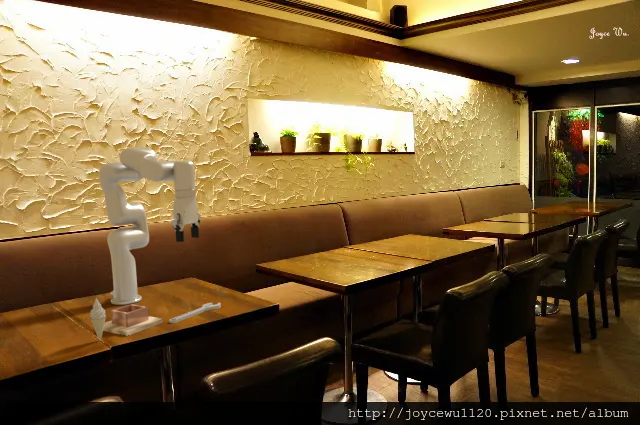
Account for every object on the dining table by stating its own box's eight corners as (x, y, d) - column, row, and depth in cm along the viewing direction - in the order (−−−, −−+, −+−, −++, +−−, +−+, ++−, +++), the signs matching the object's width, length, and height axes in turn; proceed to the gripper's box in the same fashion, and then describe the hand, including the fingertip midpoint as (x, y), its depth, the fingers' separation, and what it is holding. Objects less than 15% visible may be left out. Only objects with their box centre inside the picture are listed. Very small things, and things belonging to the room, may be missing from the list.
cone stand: (97, 329, 185) (96, 311, 184) (133, 316, 198) (132, 300, 198) (126, 336, 177) (125, 317, 176) (162, 322, 190) (161, 305, 190)
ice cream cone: (94, 338, 176) (91, 295, 174) (110, 337, 176) (106, 295, 174) (89, 343, 171) (86, 299, 169) (105, 342, 171) (101, 299, 169)
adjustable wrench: (172, 325, 189) (172, 320, 189) (162, 322, 193) (161, 317, 192) (223, 307, 209) (223, 303, 208) (212, 305, 213) (212, 301, 212)
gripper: (190, 192, 200) (192, 235, 202) (162, 196, 184) (165, 243, 186) (206, 192, 197) (209, 236, 199) (180, 196, 181) (182, 243, 183)
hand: (188, 239), depth 192 cm, fingers open, 9 cm apart
